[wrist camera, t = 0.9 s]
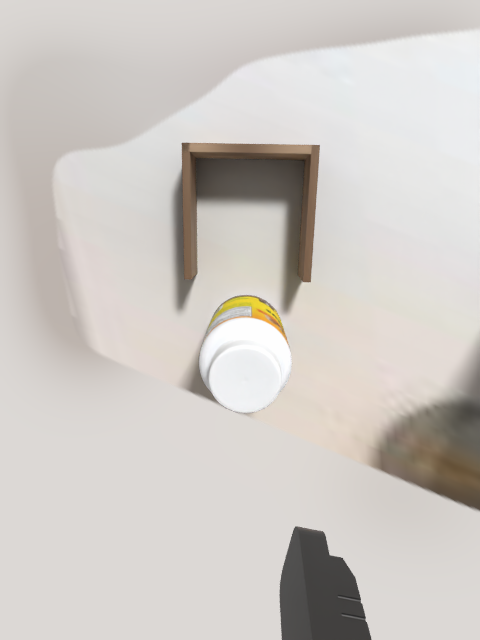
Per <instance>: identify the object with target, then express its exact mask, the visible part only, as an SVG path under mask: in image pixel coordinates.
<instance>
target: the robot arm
mask: <svg viewBox="0 0 480 640" xmlns="http://www.w3.org/2000/svg"><path fill="white" fill-rule="evenodd" d="M280 612H281V629H282V630H281V631H282V640H371V636H370V633H369V628H368V625H367V622H366V621H365V618H366V617H365V613H364V609H363V606H362V604H361V598H360V594H359V590H358V587H357V583H356V579H355V577H354V575H353V574H352V572H351V571H350V569H349V567H348V566H347V564H346V563H345V561H344V560H343V558H340V557H335V556H330V555H329V551H328V546H327V541H326V536H325V534H324V532H323V531H317V530H312V529H307V528H302V527H295V528H294V531H293V534H292V537H291V541H290V544H289V548H288V552H287V555H286V559H285V563H284V566H283V570H282V575H281V582H280Z"/></svg>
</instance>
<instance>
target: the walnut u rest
mask: <svg viewBox="0 0 480 640" xmlns="http://www.w3.org/2000/svg"><path fill="white" fill-rule="evenodd" d="M319 150H320V145H278V144H220V143H182V181H183V235H184V279H192V278H193V277H194V276H195V275H196V274H197V201H196V158H220V159H277V160H305V161H304V178H303V195H302V212H301V229H300V246H299V263H298V276H299V277H300V279H301V280H302V281H303V282H311V268H312V253H313V238H314V223H315V209H316V194H317V179H318V164H319Z"/></svg>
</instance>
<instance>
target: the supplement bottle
mask: <svg viewBox="0 0 480 640" xmlns="http://www.w3.org/2000/svg"><path fill="white" fill-rule="evenodd" d="M291 367H292V359H291V352H290V348H289V345H288V342H287V338H286V335H285V332H284V329H283V326H282V323H281V320H280V317H279V315H278V313H277V311H276V310H275V309H274V308H273V306H272V305H271V304H269V303H268V302H267V301H265V300H264V299H262V298H259V297H257V296H252V295H240V296H235V297H232V298H230V299H228V300H227V301H225V302H224V303H222V304H221V305H220V306H219V307H218V309H217V310H216V311H215V313H214V315H213V317H212V320H211V322H210V325H209V327H208V330H207V333H206V336H205V339H204V342H203V344H202V347H201V351H200V355H199V369H200V374H201V377H202V379H203V381H204V383H205V385H206V386H207V388H208V389H209V390H210V391H211V392H212V394H213V396H214V398H215V399H216V400H217V401H218V402H219V403H220V404H221V405H222V406H223V407H225V408H227V409H229V410H231V411H234V412H238V413H253V412H257V411H260V410H262V409H264V408H266V407H267V406H269V405H270V404H271V403H272V402H273V401H274V400H275V398H276V397H277V395H278V394H279V393H280V392H281V390H282V389H283V388H284V386H285V385H286V383H287V381H288V379H289V376H290V373H291Z"/></svg>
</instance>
